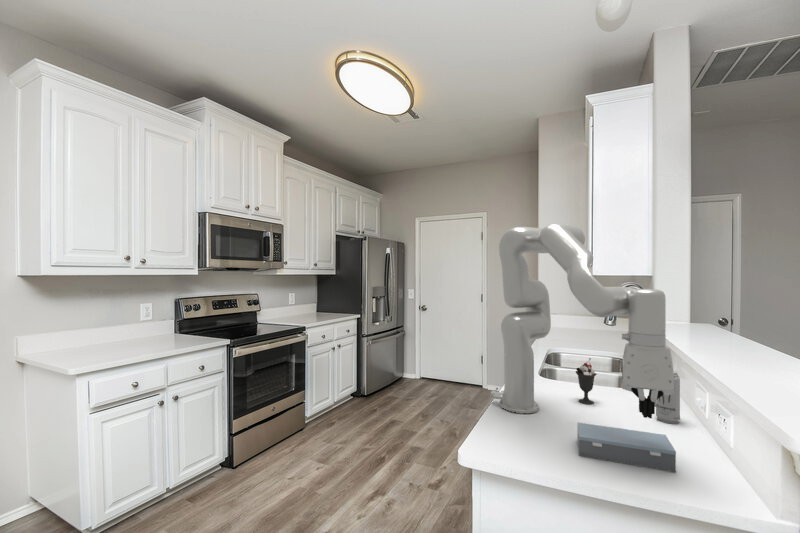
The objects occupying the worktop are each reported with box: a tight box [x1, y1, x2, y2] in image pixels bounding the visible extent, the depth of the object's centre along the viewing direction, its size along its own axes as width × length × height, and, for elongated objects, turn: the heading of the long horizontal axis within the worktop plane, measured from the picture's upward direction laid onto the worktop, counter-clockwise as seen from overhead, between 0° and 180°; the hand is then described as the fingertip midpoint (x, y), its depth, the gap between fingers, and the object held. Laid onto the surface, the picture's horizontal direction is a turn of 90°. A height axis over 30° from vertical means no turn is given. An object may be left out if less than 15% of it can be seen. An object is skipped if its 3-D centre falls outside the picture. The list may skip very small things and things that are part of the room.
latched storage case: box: [576, 426, 677, 473], centre depth 95 cm, size 20×10×4 cm, turn 67°
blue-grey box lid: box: [576, 422, 677, 456], centre depth 95 cm, size 20×9×1 cm, turn 67°
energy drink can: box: [655, 370, 681, 424], centre depth 117 cm, size 6×6×15 cm
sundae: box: [575, 357, 598, 405], centre depth 132 cm, size 7×7×15 cm
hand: (646, 415), depth 92 cm, fingers closed
